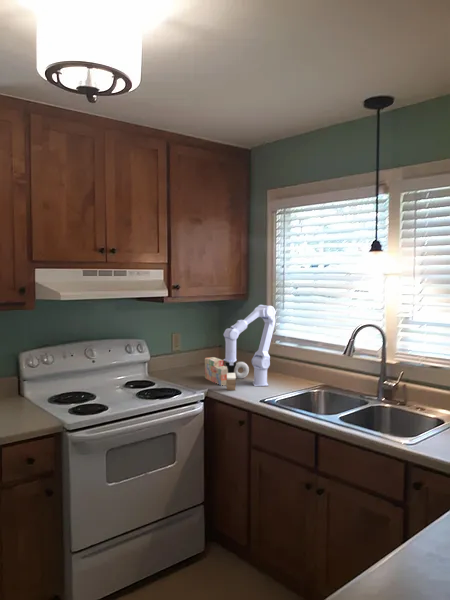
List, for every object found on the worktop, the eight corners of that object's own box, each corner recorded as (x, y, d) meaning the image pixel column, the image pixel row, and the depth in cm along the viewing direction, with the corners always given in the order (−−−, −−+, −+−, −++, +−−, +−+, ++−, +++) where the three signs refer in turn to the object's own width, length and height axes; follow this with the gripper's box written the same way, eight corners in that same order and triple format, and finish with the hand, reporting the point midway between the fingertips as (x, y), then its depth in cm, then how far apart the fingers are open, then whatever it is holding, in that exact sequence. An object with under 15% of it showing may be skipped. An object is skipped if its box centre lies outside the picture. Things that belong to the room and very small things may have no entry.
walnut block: (226, 385, 274) (226, 372, 270) (234, 385, 274) (235, 372, 270) (226, 390, 270) (227, 377, 266) (235, 390, 270) (235, 377, 266)
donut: (232, 379, 295) (232, 362, 294) (231, 378, 298) (231, 361, 297) (249, 378, 297) (249, 361, 296) (248, 377, 300) (248, 360, 299)
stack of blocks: (231, 384, 282) (231, 362, 281) (220, 386, 279) (221, 363, 279) (214, 377, 301) (214, 356, 300) (204, 378, 298) (204, 357, 298)
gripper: (222, 348, 278) (222, 373, 279) (223, 353, 264) (223, 379, 265) (235, 348, 278) (235, 373, 279) (237, 353, 264) (237, 379, 265)
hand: (230, 376), depth 272 cm, fingers closed
